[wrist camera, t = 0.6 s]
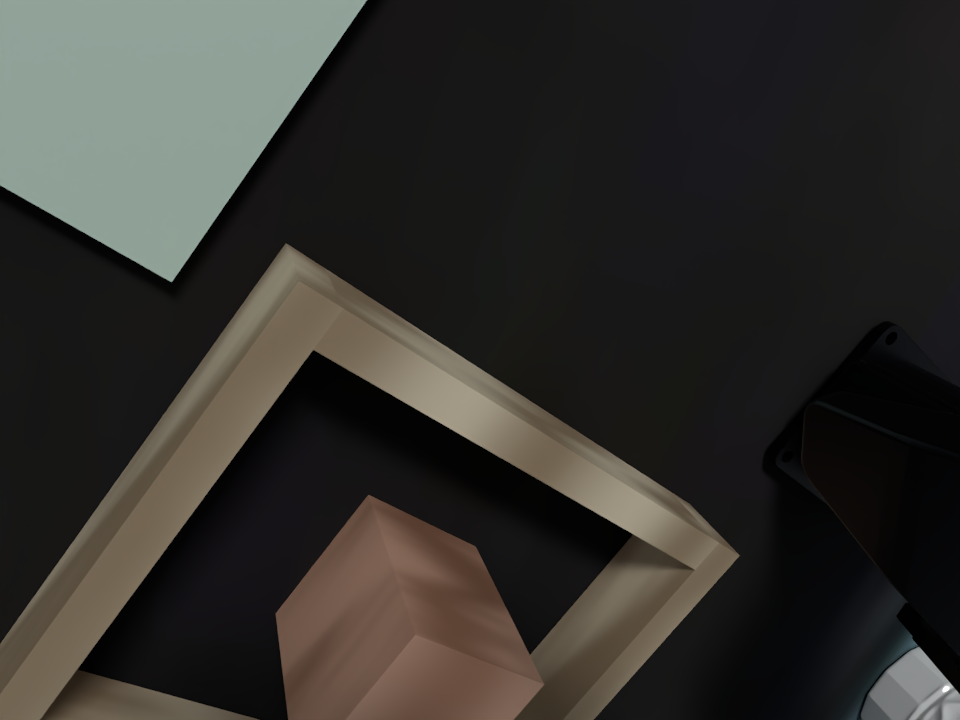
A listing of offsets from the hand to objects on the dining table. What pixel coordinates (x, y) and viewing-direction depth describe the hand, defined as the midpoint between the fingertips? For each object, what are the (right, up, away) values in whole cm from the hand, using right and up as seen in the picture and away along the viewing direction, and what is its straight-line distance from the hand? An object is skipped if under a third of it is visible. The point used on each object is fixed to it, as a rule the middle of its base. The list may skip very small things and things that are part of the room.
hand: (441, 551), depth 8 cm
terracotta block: (-3, -5, +17) cm, 18 cm away
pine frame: (-3, -5, +17) cm, 18 cm away
